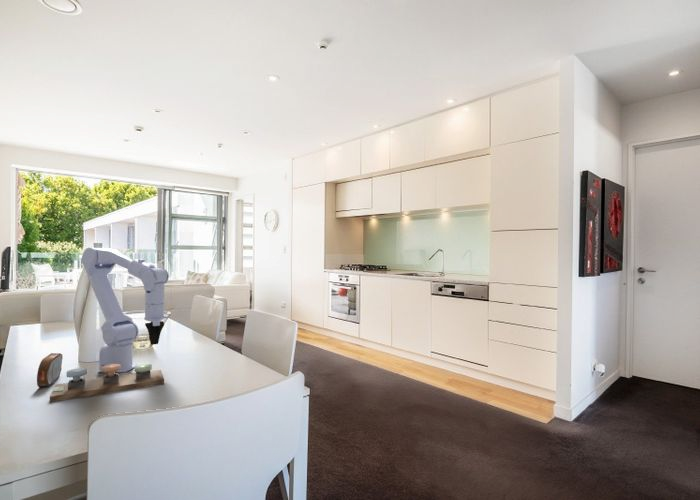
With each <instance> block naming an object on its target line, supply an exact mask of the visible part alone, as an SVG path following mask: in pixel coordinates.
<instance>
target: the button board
mask: <svg viewBox="0 0 700 500" xmlns="http://www.w3.org/2000/svg"><path fill="white" fill-rule="evenodd" d="M119 373H120V372H115V376H113V377H108V374H103V377H99V378H94V379H93V378H92V379H87V380H86V377H81V378H80V381H78V382H73V378H72V379H69V380H68V382H64V383H59V384H57V383H56V384H54V387H53V389H52V391H51V393H50V395H49V403H52V402H51V401H54V402H59V401H58V400H60V401H64V400H72V399H77V398H78V399H79V398H84V397H90V396H91V397H92V396H95V395H103V394H108V393H109V394H110V393H116V392H121V391H123V392H124V391H128V390H134V389H140V388H147V387H148V388H149V387H153V386H160V385H165V378H164V374H163V372H162V370H161V369H157V370H150V371H146V372H143V373H140V372H134V373H129V374H122V375H121V374H120V375H119Z"/></svg>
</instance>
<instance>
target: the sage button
mask: <svg viewBox="0 0 700 500" xmlns="http://www.w3.org/2000/svg"><path fill="white" fill-rule="evenodd" d="M152 368H153V364H151V363H140V364H138V365H137V366H135V367H134V368H133V369H134V371H133V372H134V373H136V372H140V373H143V372H146V371H152V370H153V369H152Z"/></svg>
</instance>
